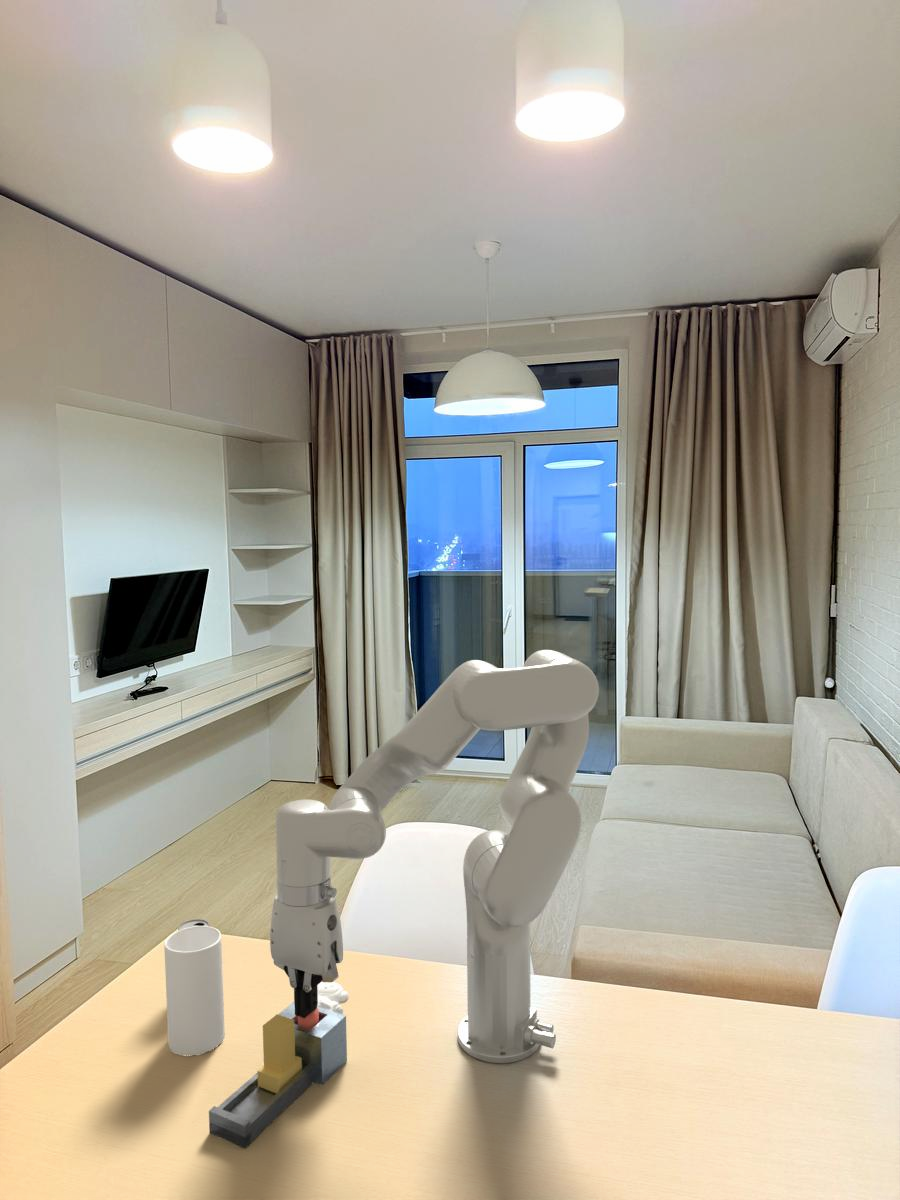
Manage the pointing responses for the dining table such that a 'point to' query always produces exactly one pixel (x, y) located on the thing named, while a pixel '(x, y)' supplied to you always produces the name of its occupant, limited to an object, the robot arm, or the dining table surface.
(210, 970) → the cup
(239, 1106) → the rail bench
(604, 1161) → the dining table surface
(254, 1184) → the dining table surface
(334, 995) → the astronaut figurine
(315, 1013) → the button
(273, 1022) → the block
